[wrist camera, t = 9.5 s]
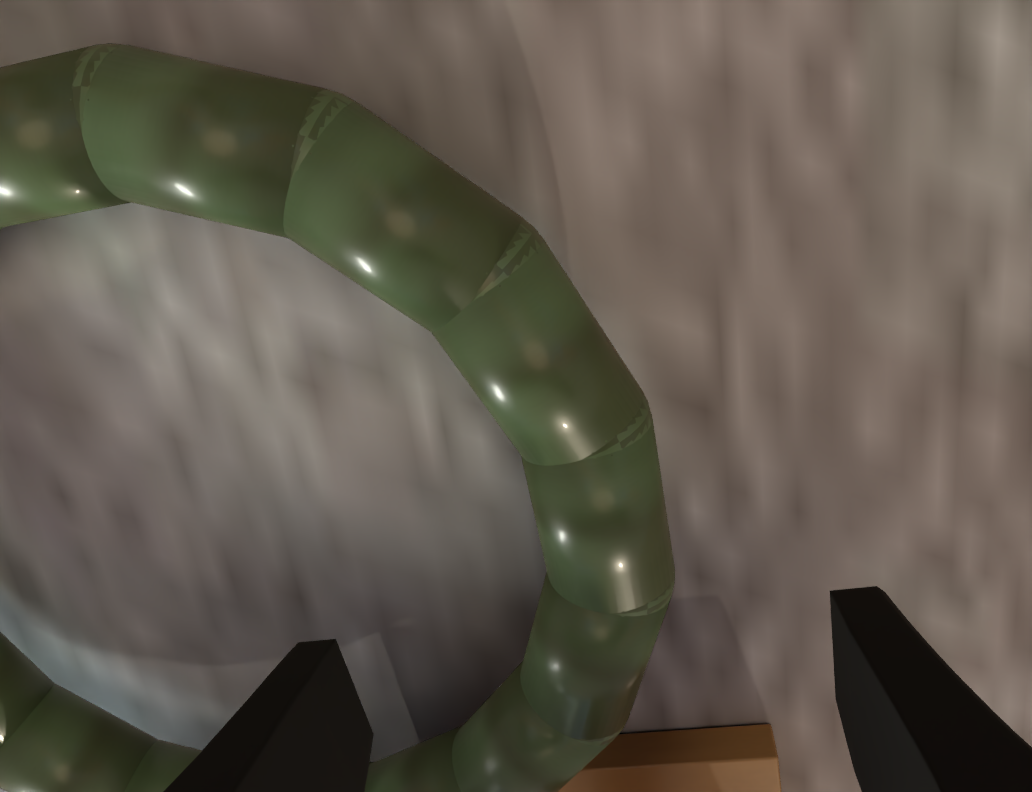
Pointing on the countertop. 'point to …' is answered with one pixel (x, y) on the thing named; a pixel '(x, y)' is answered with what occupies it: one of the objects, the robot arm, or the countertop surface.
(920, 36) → the countertop surface
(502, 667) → the countertop surface
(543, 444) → the ring
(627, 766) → the ring stand
